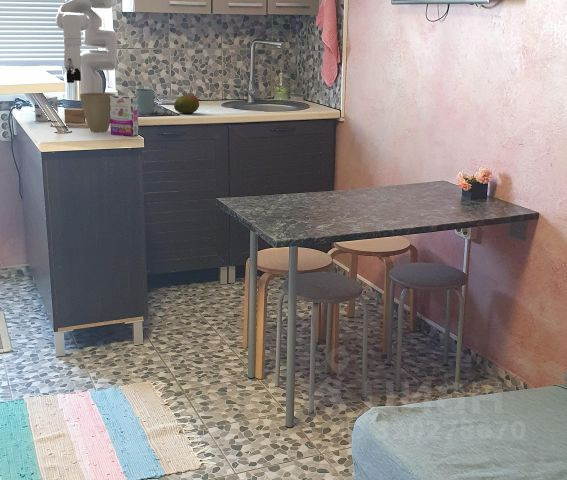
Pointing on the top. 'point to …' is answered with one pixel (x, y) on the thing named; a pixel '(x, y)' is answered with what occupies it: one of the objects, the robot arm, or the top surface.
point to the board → (76, 125)
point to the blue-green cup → (145, 100)
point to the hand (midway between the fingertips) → (74, 81)
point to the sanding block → (74, 115)
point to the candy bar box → (124, 115)
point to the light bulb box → (39, 113)
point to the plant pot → (97, 110)
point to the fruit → (186, 104)
